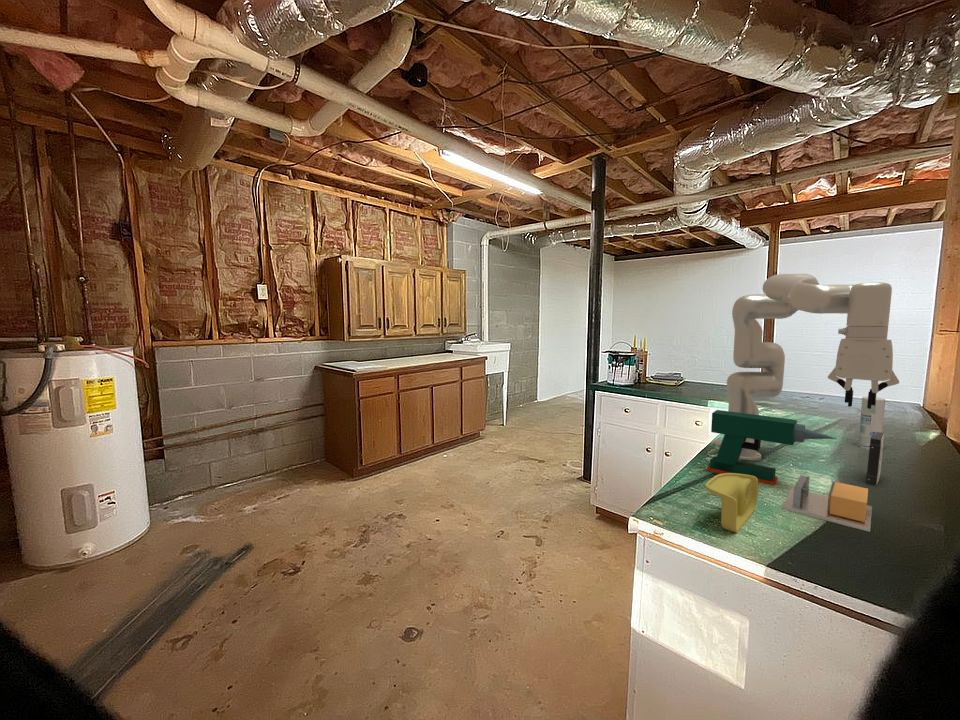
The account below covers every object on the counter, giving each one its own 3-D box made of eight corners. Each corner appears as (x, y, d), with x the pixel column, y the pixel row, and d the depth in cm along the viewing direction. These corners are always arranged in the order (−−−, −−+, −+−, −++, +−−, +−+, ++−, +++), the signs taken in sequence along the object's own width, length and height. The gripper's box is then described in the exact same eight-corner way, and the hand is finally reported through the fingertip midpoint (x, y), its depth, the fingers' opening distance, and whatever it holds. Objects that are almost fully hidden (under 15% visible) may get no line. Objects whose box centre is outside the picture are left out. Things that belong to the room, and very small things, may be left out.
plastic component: (735, 536, 95) (736, 494, 94) (700, 525, 100) (702, 485, 99) (756, 509, 109) (758, 472, 108) (725, 500, 114) (727, 466, 113)
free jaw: (827, 512, 103) (828, 494, 103) (831, 498, 112) (833, 481, 111) (865, 522, 98) (866, 503, 98) (866, 506, 107) (868, 488, 106)
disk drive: (878, 486, 123) (882, 439, 122) (865, 484, 125) (869, 437, 124) (880, 477, 130) (884, 432, 129) (868, 475, 132) (872, 430, 131)
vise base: (781, 509, 108) (783, 487, 108) (791, 491, 119) (793, 471, 119) (870, 532, 96) (872, 507, 96) (871, 510, 108) (873, 487, 107)
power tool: (833, 491, 120) (839, 425, 118) (832, 499, 115) (838, 429, 113) (712, 465, 141) (715, 409, 140) (707, 471, 136) (710, 412, 134)
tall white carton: (885, 450, 157) (890, 399, 155) (868, 450, 157) (873, 399, 155) (869, 445, 164) (874, 396, 162) (853, 445, 164) (857, 396, 162)
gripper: (821, 333, 103) (815, 404, 105) (915, 334, 92) (907, 414, 94) (824, 332, 108) (818, 400, 110) (913, 334, 97) (905, 409, 99)
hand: (859, 406), depth 102 cm, fingers open, 3 cm apart
